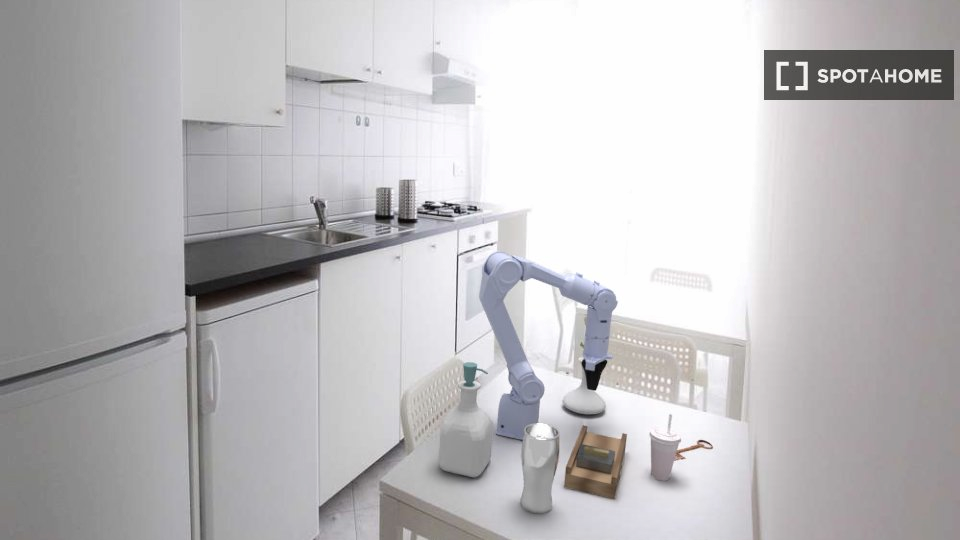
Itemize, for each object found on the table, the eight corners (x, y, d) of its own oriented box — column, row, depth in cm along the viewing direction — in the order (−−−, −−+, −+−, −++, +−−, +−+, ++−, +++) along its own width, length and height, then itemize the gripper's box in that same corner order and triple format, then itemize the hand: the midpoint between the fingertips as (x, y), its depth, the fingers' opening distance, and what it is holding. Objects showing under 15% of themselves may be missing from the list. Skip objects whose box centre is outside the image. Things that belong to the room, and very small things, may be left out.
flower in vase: (609, 420, 146) (618, 326, 141) (564, 417, 146) (573, 323, 141) (599, 399, 159) (608, 312, 154) (558, 396, 159) (566, 310, 154)
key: (675, 467, 126) (722, 453, 133) (676, 463, 126) (723, 450, 132) (656, 452, 131) (702, 440, 138) (657, 449, 131) (703, 437, 137)
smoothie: (678, 486, 117) (686, 422, 114) (645, 481, 118) (653, 418, 116) (674, 470, 123) (681, 409, 120) (643, 465, 124) (650, 405, 122)
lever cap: (576, 466, 117) (577, 452, 116) (581, 452, 122) (582, 439, 122) (610, 473, 114) (612, 460, 114) (614, 459, 120) (615, 446, 119)
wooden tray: (564, 486, 114) (565, 466, 114) (581, 443, 133) (582, 425, 132) (614, 499, 111) (616, 478, 110) (625, 452, 130) (627, 434, 129)
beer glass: (515, 493, 111) (520, 422, 108) (550, 493, 112) (556, 422, 109) (520, 515, 104) (526, 439, 102) (558, 515, 105) (564, 440, 102)
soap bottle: (479, 482, 114) (485, 375, 110) (435, 472, 117) (439, 367, 113) (493, 460, 123) (499, 360, 119) (452, 451, 126) (456, 353, 122)
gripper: (609, 346, 128) (604, 403, 130) (617, 330, 141) (612, 381, 144) (578, 341, 130) (573, 397, 133) (589, 325, 144) (584, 376, 146)
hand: (592, 389), depth 138 cm, fingers closed
